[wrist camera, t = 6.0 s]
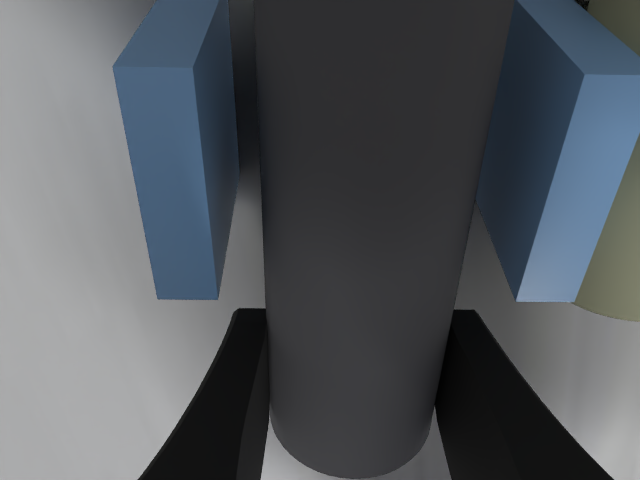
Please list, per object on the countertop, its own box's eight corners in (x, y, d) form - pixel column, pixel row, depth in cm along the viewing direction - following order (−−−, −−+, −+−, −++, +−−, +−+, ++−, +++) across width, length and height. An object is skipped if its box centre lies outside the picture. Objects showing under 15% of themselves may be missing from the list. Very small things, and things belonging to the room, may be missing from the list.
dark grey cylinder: (420, 350, 15) (442, 481, 12) (276, 346, 15) (261, 476, 12) (497, -113, 9) (574, -82, 6) (263, -120, 9) (232, -91, 6)
